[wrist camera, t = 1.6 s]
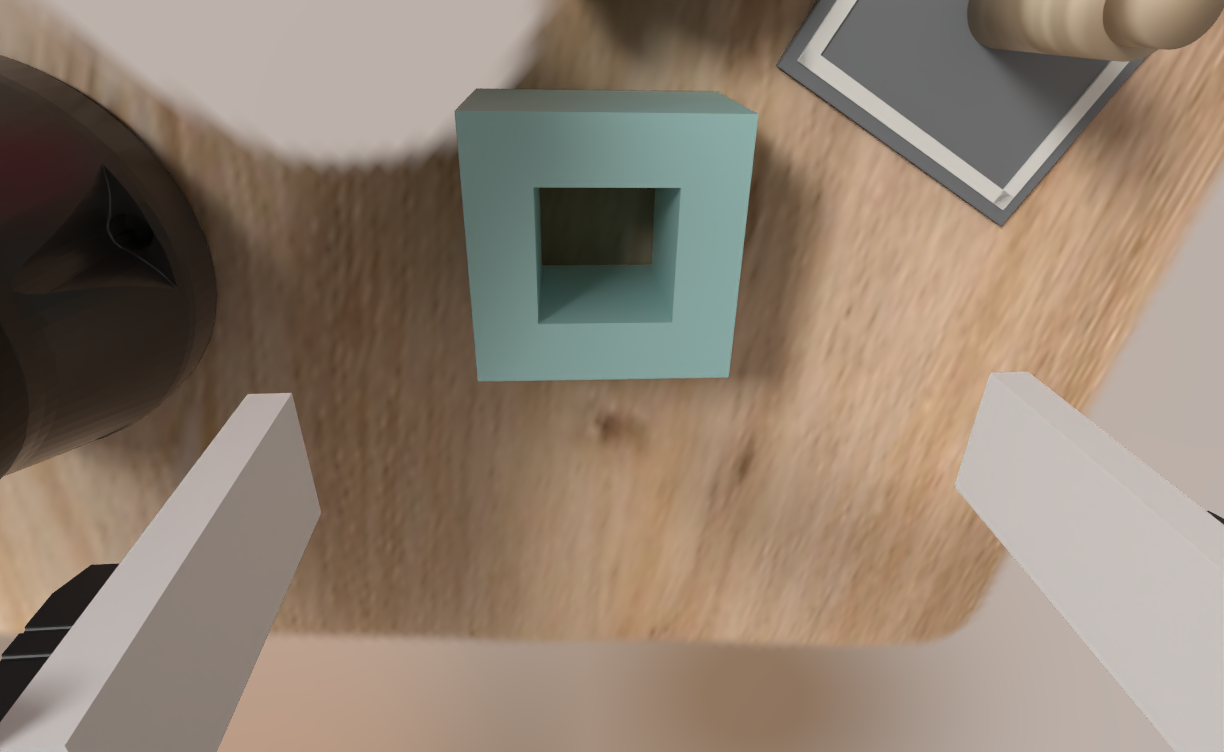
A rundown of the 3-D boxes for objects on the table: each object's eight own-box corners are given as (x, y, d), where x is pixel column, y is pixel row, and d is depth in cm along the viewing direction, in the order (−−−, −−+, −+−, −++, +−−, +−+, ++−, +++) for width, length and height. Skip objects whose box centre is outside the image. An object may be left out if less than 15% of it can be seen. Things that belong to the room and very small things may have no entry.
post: (949, 19, 25) (1103, 25, 18) (1010, -65, 24) (1199, -94, 17) (1006, 65, 26) (1173, 88, 19) (1067, -13, 25) (1269, -21, 18)
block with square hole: (492, 314, 30) (477, 381, 24) (476, 88, 25) (454, 110, 20) (698, 312, 30) (728, 377, 25) (717, 91, 26) (758, 114, 21)
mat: (775, 65, 26) (778, 66, 25) (1012, -303, 21) (1020, -308, 21) (997, 223, 29) (1002, 226, 29) (1240, -62, 25) (1250, -63, 24)
